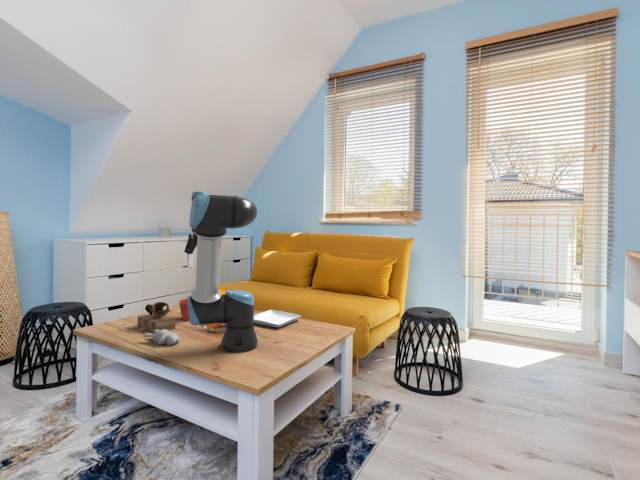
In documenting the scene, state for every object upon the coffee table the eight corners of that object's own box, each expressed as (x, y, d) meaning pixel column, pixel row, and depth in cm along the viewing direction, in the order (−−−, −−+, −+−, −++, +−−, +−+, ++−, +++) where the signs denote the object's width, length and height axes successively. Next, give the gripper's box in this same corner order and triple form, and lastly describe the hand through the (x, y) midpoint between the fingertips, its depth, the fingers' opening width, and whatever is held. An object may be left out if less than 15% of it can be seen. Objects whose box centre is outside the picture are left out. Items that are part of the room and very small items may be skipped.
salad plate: (278, 331, 181) (279, 324, 181) (245, 324, 192) (245, 317, 191) (302, 321, 199) (302, 314, 199) (270, 315, 210) (270, 309, 210)
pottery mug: (172, 315, 187) (173, 302, 183) (164, 328, 179) (165, 315, 175) (148, 308, 186) (149, 296, 182) (139, 321, 178) (139, 308, 174)
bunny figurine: (168, 339, 153) (141, 329, 158) (167, 351, 153) (140, 341, 159) (184, 332, 161) (159, 324, 167) (183, 344, 162) (158, 335, 168)
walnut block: (175, 328, 180) (175, 318, 180) (155, 333, 172) (155, 322, 171) (157, 322, 189) (157, 312, 189) (137, 326, 181) (137, 316, 181)
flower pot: (205, 318, 200) (205, 300, 199) (188, 322, 190) (188, 303, 190) (191, 315, 205) (192, 297, 205) (174, 319, 196) (174, 301, 195)
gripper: (223, 224, 176) (223, 269, 177) (189, 224, 190) (189, 265, 190) (211, 224, 170) (211, 270, 170) (176, 223, 183) (176, 267, 184)
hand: (199, 268), depth 180 cm, fingers open, 13 cm apart
